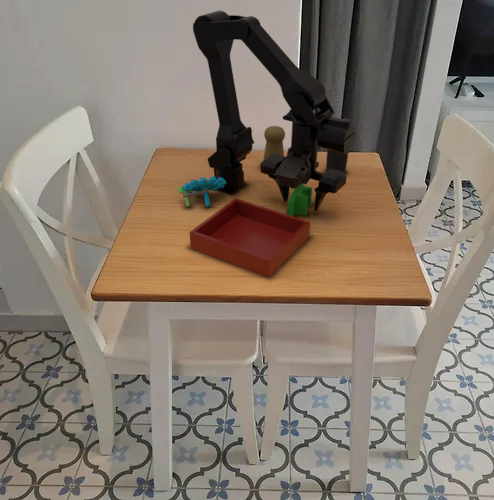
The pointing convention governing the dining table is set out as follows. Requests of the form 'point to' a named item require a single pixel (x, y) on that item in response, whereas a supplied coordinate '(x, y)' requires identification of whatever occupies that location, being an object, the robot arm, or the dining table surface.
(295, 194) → the pipe clamp
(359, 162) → the dining table surface
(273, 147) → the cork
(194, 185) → the blue toy dinosaur
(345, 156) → the two-way radio
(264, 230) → the open red box
